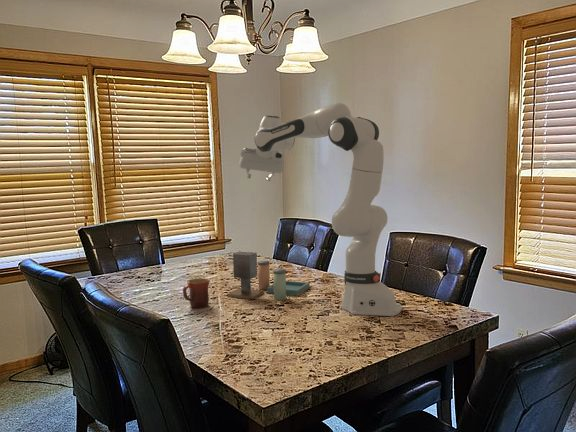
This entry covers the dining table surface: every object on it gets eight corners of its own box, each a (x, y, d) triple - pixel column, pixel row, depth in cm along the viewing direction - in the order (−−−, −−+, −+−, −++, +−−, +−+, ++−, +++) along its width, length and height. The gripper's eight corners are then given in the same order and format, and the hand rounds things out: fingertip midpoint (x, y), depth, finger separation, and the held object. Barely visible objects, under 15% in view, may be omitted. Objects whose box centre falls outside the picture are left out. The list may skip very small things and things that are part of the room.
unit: (264, 293, 206) (262, 252, 204) (253, 299, 197) (251, 256, 195) (239, 290, 211) (238, 250, 209) (227, 296, 202) (226, 254, 200)
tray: (309, 287, 214) (309, 282, 214) (297, 296, 201) (296, 290, 201) (280, 285, 220) (280, 280, 219) (267, 292, 207) (267, 287, 207)
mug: (200, 301, 196) (199, 277, 195) (215, 305, 191) (214, 280, 189) (177, 309, 186) (175, 283, 185) (192, 313, 181) (191, 286, 180)
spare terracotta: (271, 287, 217) (271, 260, 215) (266, 289, 212) (266, 263, 211) (261, 286, 219) (261, 260, 217) (256, 288, 214) (255, 262, 213)
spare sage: (288, 297, 199) (287, 269, 198) (283, 301, 194) (282, 272, 193) (277, 296, 201) (276, 268, 200) (271, 299, 196) (271, 271, 195)
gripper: (243, 149, 208) (237, 179, 214) (287, 155, 216) (280, 184, 221) (240, 145, 214) (235, 174, 219) (283, 151, 221) (277, 179, 226)
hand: (258, 179), depth 220 cm, fingers open, 8 cm apart
